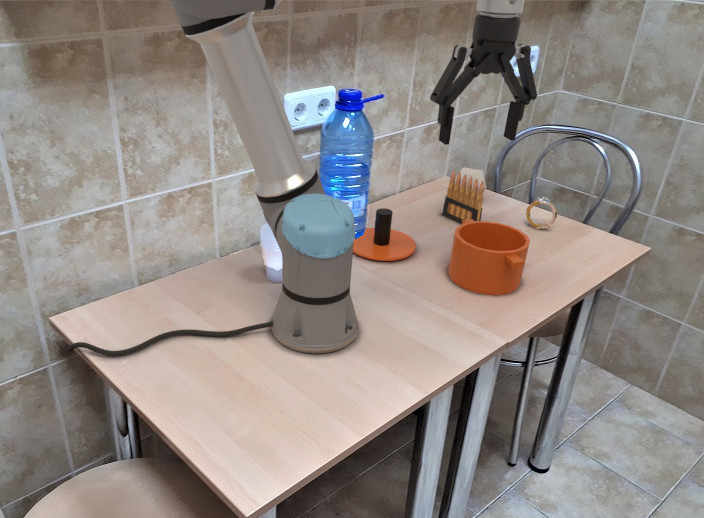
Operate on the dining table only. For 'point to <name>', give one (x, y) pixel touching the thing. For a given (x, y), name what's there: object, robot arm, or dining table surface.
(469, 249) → the pot
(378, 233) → the lid
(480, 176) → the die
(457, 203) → the ammunition clip
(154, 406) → the dining table surface
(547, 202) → the ring
